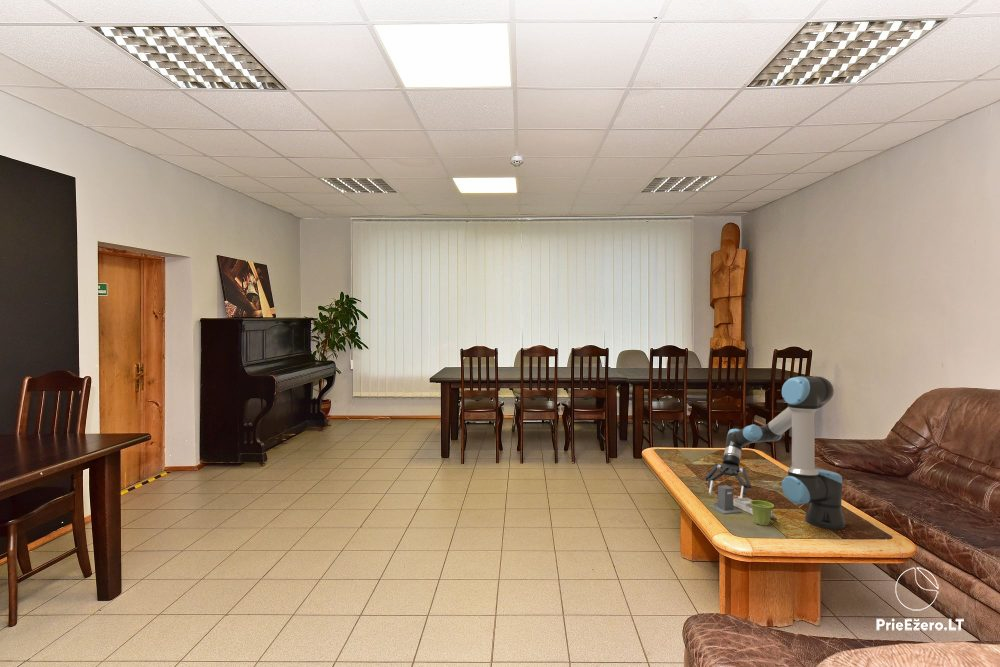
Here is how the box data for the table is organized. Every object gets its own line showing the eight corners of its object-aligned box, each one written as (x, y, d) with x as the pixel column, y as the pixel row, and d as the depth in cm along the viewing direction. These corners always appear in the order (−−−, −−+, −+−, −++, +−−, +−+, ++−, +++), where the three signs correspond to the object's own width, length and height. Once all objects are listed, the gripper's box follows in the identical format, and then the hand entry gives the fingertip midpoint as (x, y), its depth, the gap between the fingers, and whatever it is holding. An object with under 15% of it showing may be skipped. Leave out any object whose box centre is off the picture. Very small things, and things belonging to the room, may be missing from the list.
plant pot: (745, 518, 242) (746, 499, 242) (767, 519, 241) (767, 500, 241) (754, 526, 232) (755, 506, 232) (777, 527, 232) (777, 507, 232)
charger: (733, 509, 251) (734, 488, 251) (724, 510, 250) (725, 489, 250) (725, 506, 256) (726, 485, 256) (717, 507, 255) (718, 485, 254)
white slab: (783, 520, 240) (783, 513, 240) (768, 522, 238) (768, 515, 238) (738, 499, 267) (738, 493, 267) (724, 501, 265) (724, 494, 265)
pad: (741, 512, 250) (741, 511, 250) (723, 514, 247) (723, 513, 247) (726, 505, 259) (726, 503, 259) (709, 506, 256) (709, 505, 256)
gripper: (760, 466, 261) (755, 506, 248) (706, 458, 274) (698, 495, 262) (759, 457, 256) (753, 498, 244) (704, 450, 269) (696, 487, 257)
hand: (725, 496), depth 253 cm, fingers open, 13 cm apart
